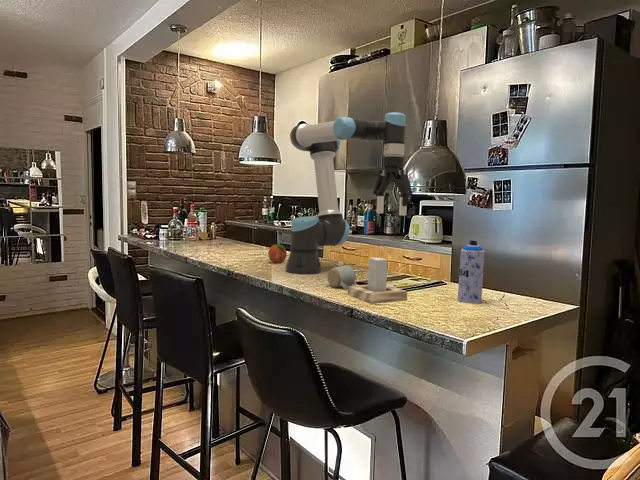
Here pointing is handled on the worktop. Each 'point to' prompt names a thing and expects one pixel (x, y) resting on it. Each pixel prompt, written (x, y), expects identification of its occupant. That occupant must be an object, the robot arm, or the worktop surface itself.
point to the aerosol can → (471, 273)
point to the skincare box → (377, 274)
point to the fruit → (277, 253)
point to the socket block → (377, 294)
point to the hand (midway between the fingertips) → (390, 214)
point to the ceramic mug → (342, 277)
